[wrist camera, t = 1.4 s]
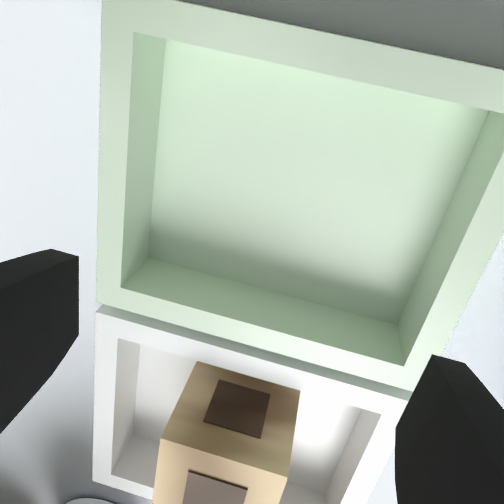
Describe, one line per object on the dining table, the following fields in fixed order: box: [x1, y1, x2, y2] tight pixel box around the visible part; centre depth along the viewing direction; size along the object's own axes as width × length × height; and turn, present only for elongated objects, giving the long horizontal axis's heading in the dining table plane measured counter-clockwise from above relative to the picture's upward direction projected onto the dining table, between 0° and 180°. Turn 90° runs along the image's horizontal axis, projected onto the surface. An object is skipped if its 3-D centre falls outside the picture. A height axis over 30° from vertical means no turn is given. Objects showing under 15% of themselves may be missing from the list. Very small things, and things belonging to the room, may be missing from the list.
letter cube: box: [152, 361, 300, 504], centre depth 20 cm, size 5×5×5 cm
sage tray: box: [96, 0, 504, 392], centre depth 16 cm, size 13×11×3 cm
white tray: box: [92, 304, 413, 504], centre depth 21 cm, size 13×11×3 cm
